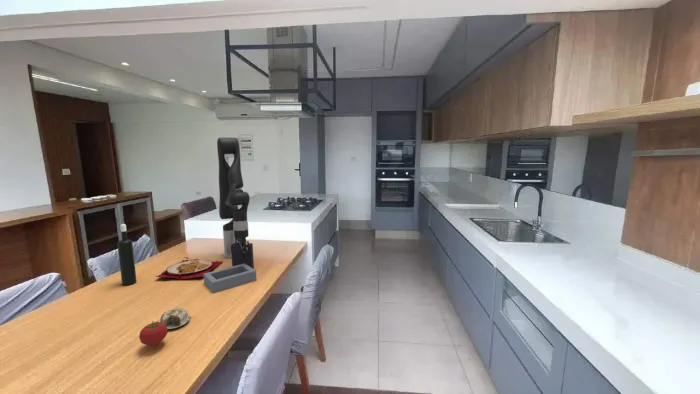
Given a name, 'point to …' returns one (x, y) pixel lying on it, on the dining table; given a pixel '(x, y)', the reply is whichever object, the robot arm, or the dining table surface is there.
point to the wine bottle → (126, 258)
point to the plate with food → (189, 269)
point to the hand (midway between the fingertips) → (242, 257)
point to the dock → (229, 277)
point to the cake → (175, 318)
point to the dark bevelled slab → (241, 255)
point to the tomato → (153, 333)
